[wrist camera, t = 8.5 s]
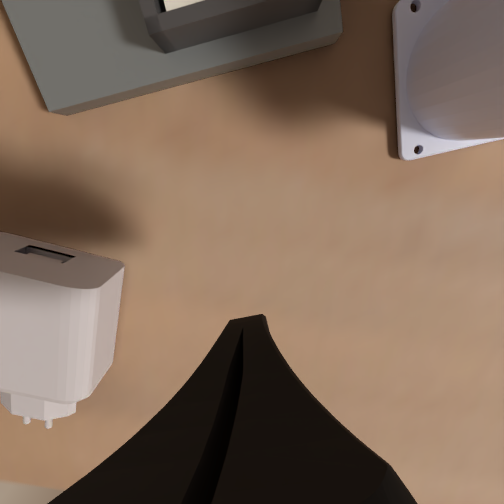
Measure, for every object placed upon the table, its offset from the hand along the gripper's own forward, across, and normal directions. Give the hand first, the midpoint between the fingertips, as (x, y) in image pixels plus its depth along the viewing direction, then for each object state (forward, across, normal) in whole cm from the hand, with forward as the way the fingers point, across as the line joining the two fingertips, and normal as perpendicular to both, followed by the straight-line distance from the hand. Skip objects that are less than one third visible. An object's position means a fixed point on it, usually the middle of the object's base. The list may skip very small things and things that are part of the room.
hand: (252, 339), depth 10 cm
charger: (+10, +16, +3) cm, 20 cm away
